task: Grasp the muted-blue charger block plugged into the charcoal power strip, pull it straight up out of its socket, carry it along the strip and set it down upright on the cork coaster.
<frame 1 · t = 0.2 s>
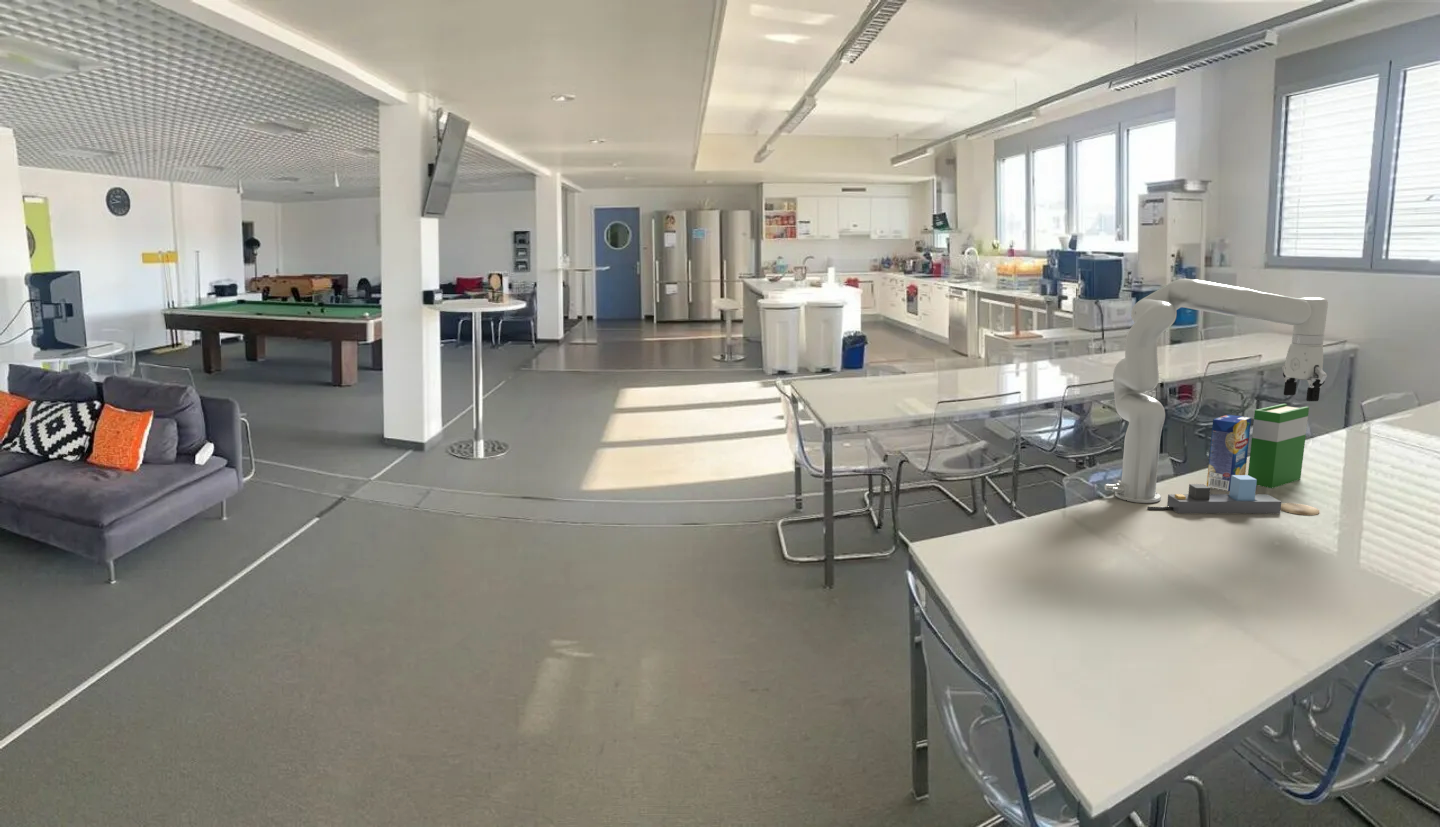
hand: (1300, 397, 242), 31 cm above the table, fingers open, 9 cm apart
coaster: (1298, 509, 237), on the table
hardback book: (1273, 481, 265), on the table
power strip: (1222, 509, 239), on the table
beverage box: (1225, 486, 261), on the table
charger: (1241, 503, 238), point 2 cm above the table, touching power strip
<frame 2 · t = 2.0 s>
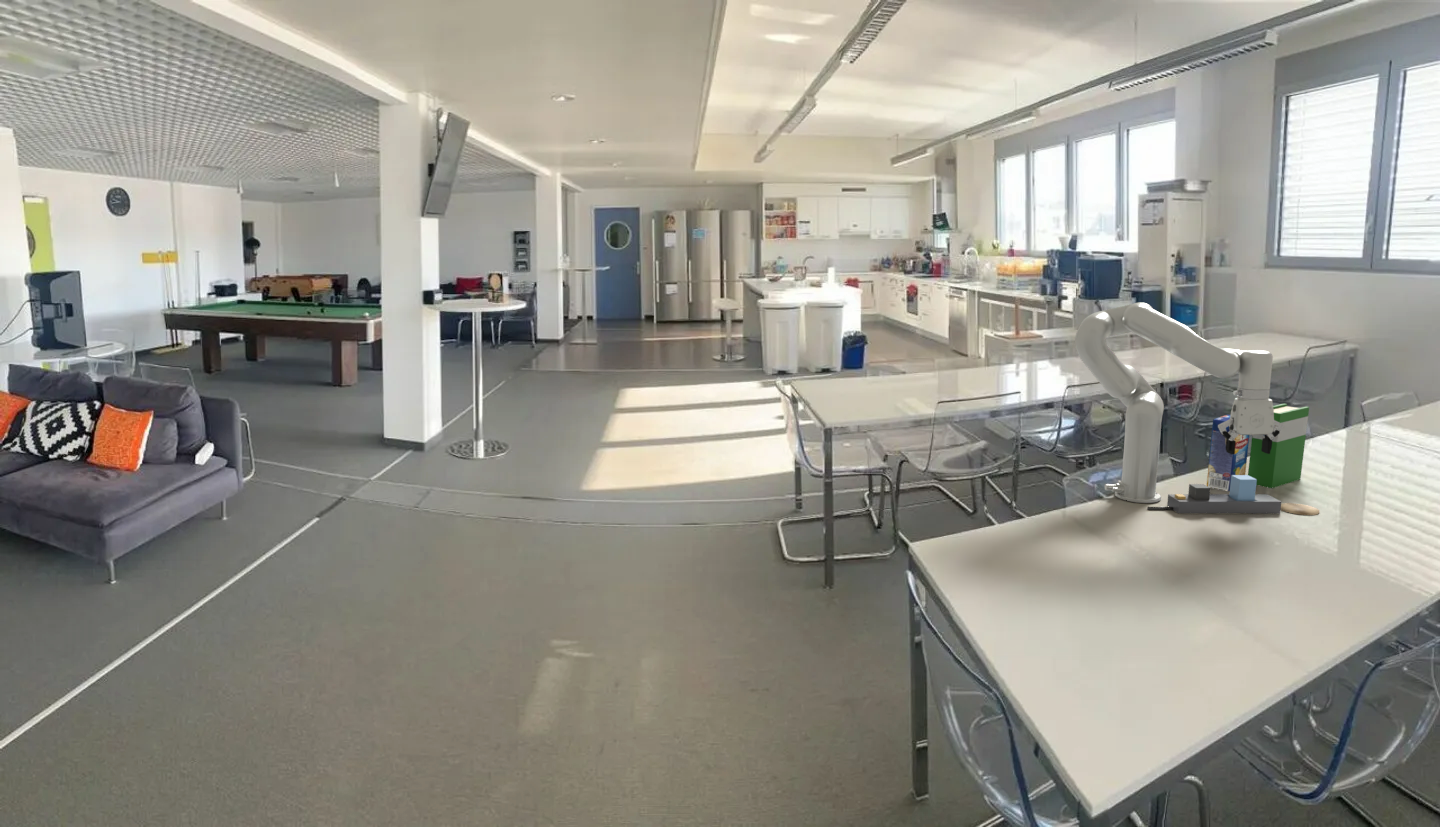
hand: (1248, 453, 235), 17 cm above the table, fingers open, 9 cm apart
nothing on the table moved.
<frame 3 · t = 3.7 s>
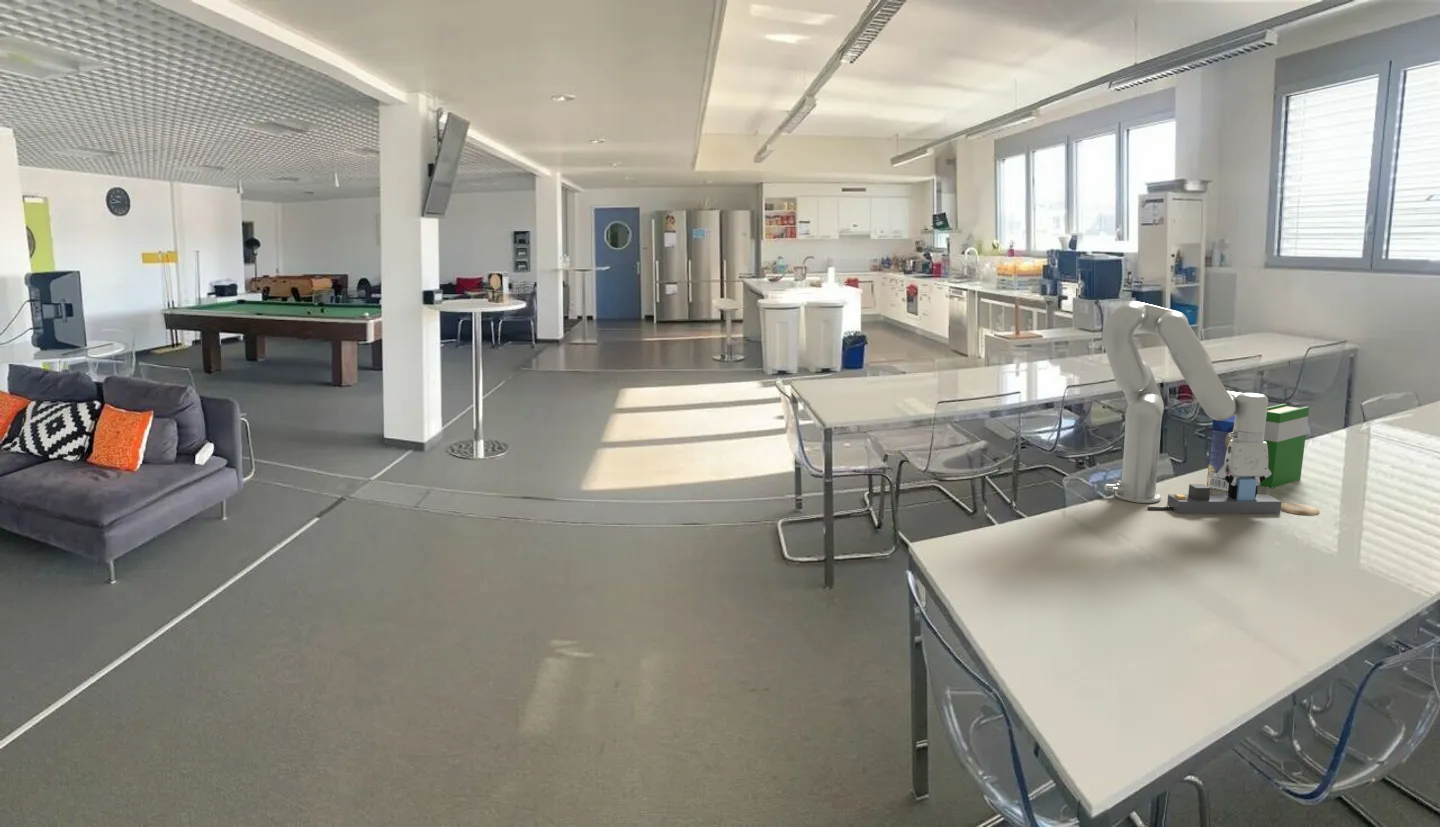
hand: (1241, 496, 237), 4 cm above the table, fingers closed on charger, 4 cm apart
charger: (1241, 503, 238), point 2 cm above the table, touching gripper, power strip
everything else where it was.
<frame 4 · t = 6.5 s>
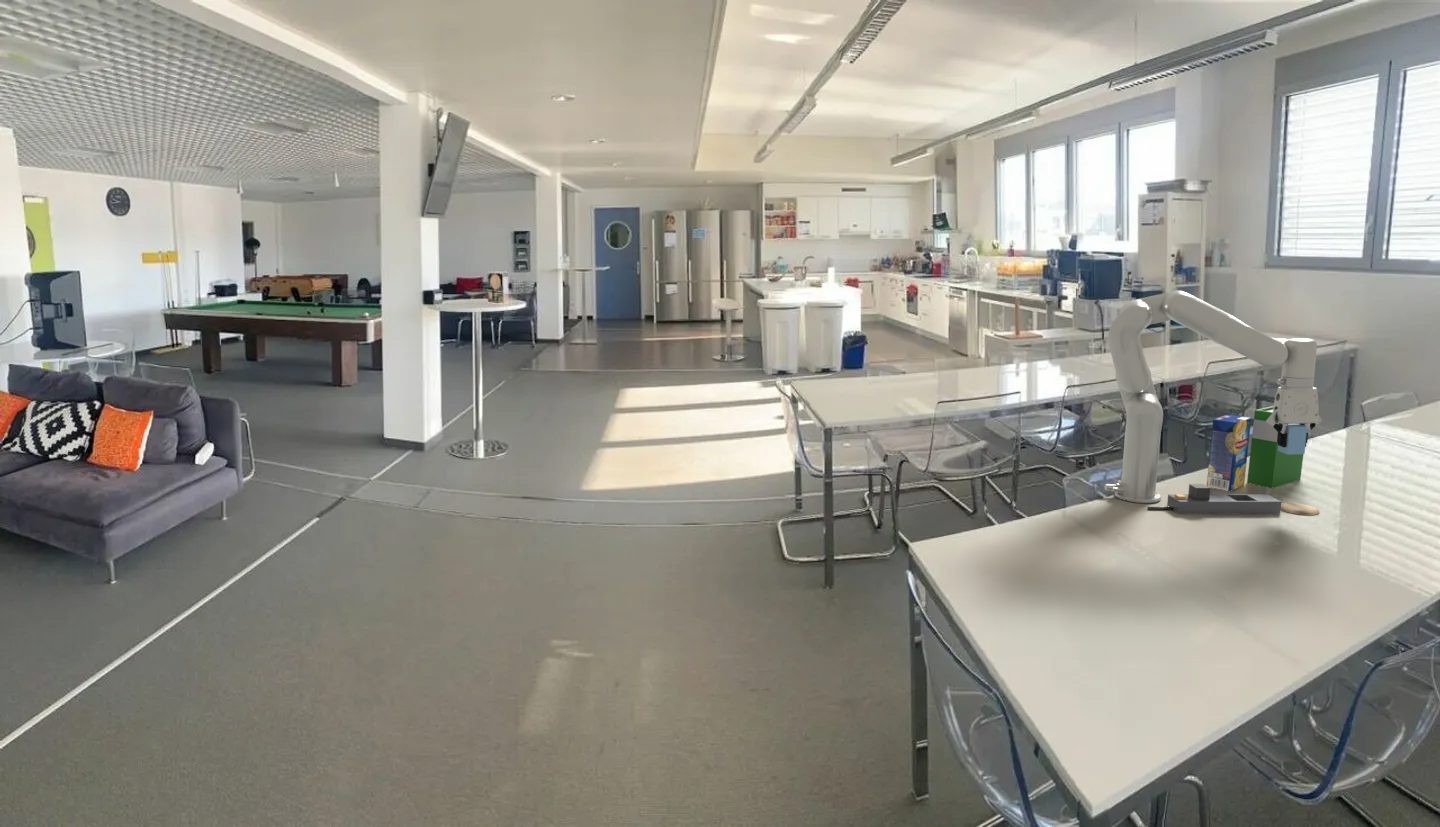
hand: (1291, 445, 233), 19 cm above the table, fingers closed on charger, 4 cm apart
charger: (1291, 452, 234), point 17 cm above the table, touching gripper
everything else where it was.
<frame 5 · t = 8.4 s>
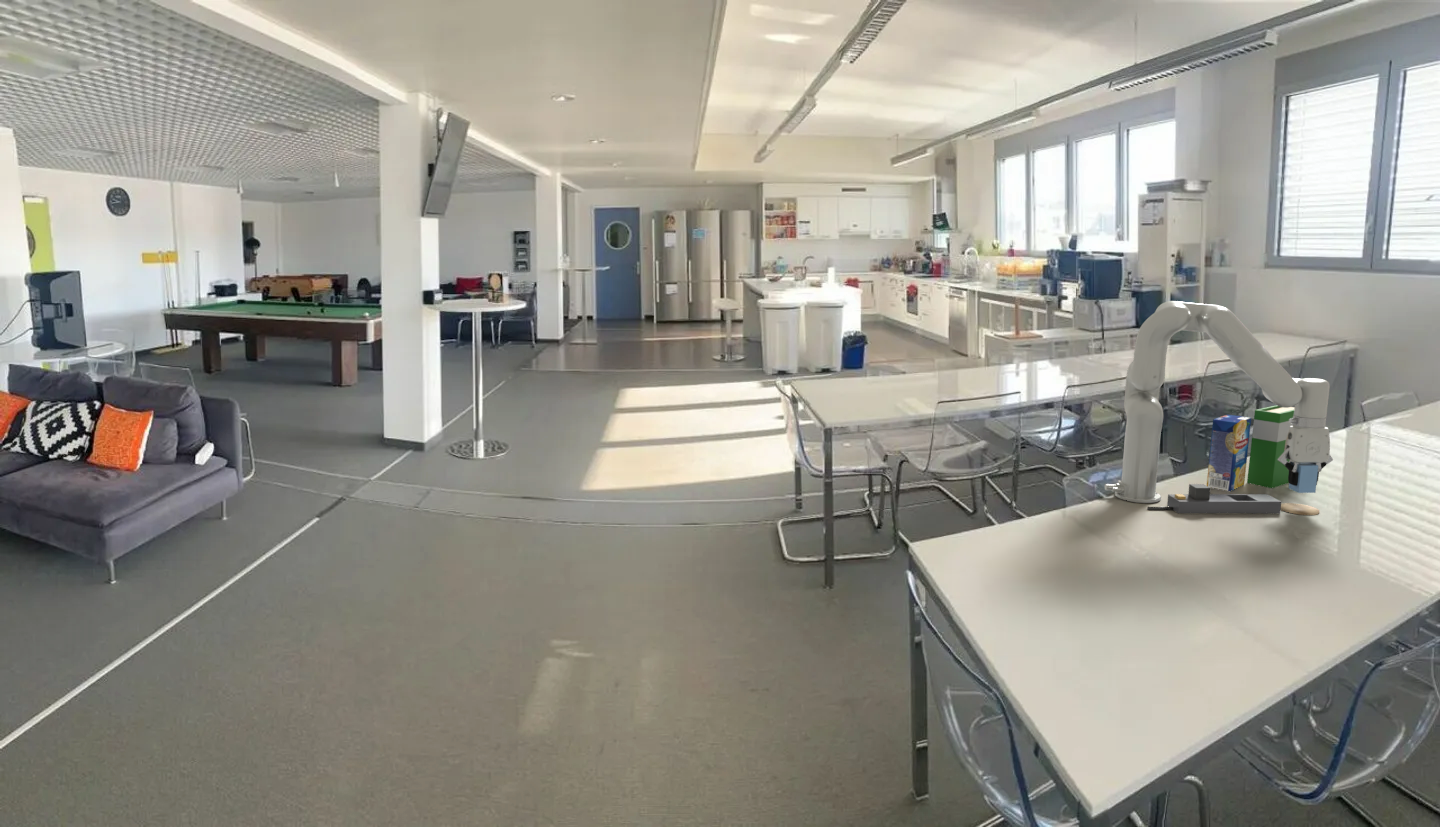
hand: (1302, 483, 235), 8 cm above the table, fingers closed on charger, 4 cm apart
charger: (1301, 490, 236), point 6 cm above the table, touching gripper
everything else where it was.
when the fingers open (4 cm above the table, at t = 9.5 s): charger drops 1 cm, resting on coaster.
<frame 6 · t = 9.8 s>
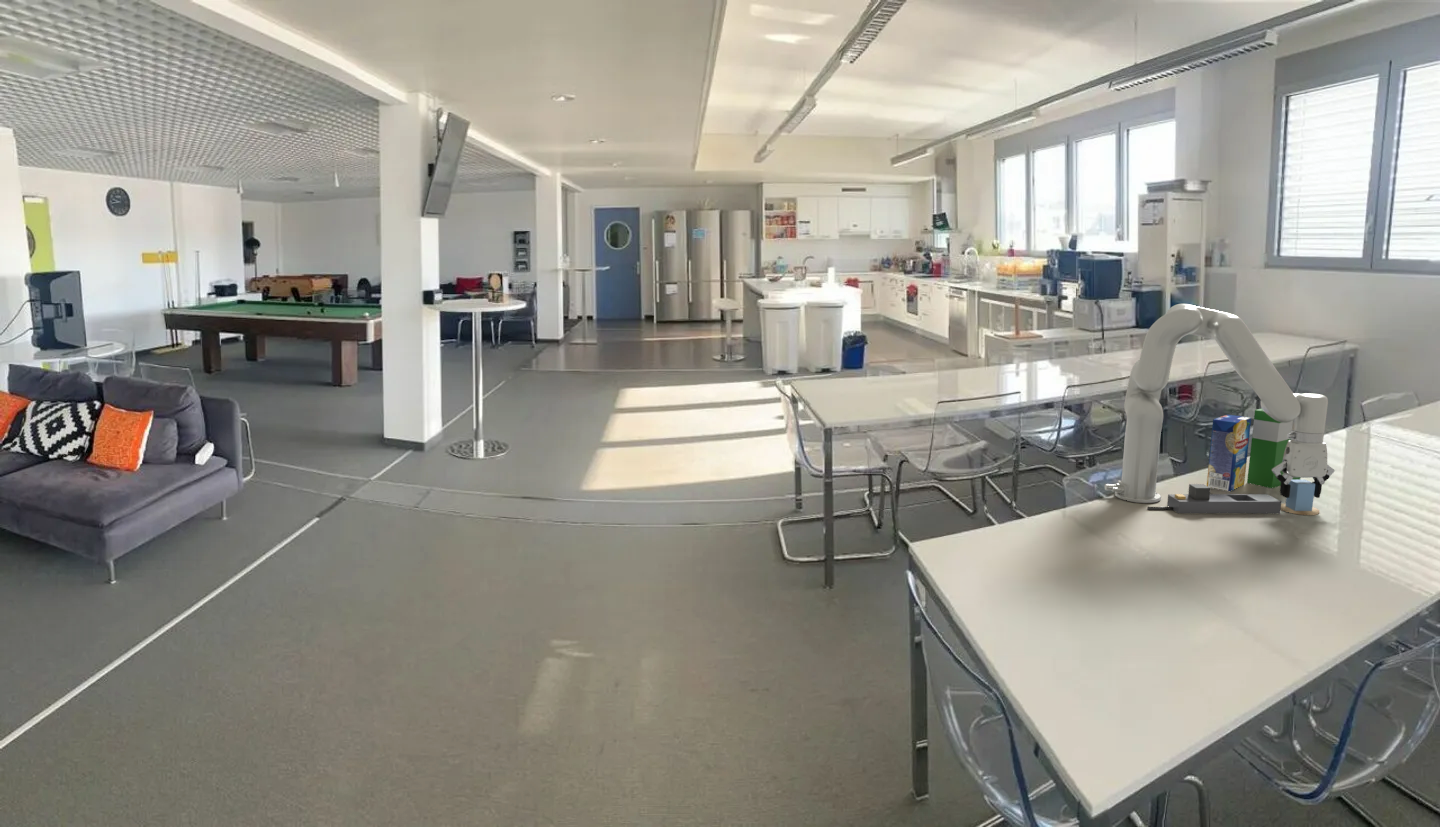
hand: (1299, 496, 236), 4 cm above the table, fingers open, 7 cm apart
charger: (1298, 508, 237), resting on coaster
everything else where it was.
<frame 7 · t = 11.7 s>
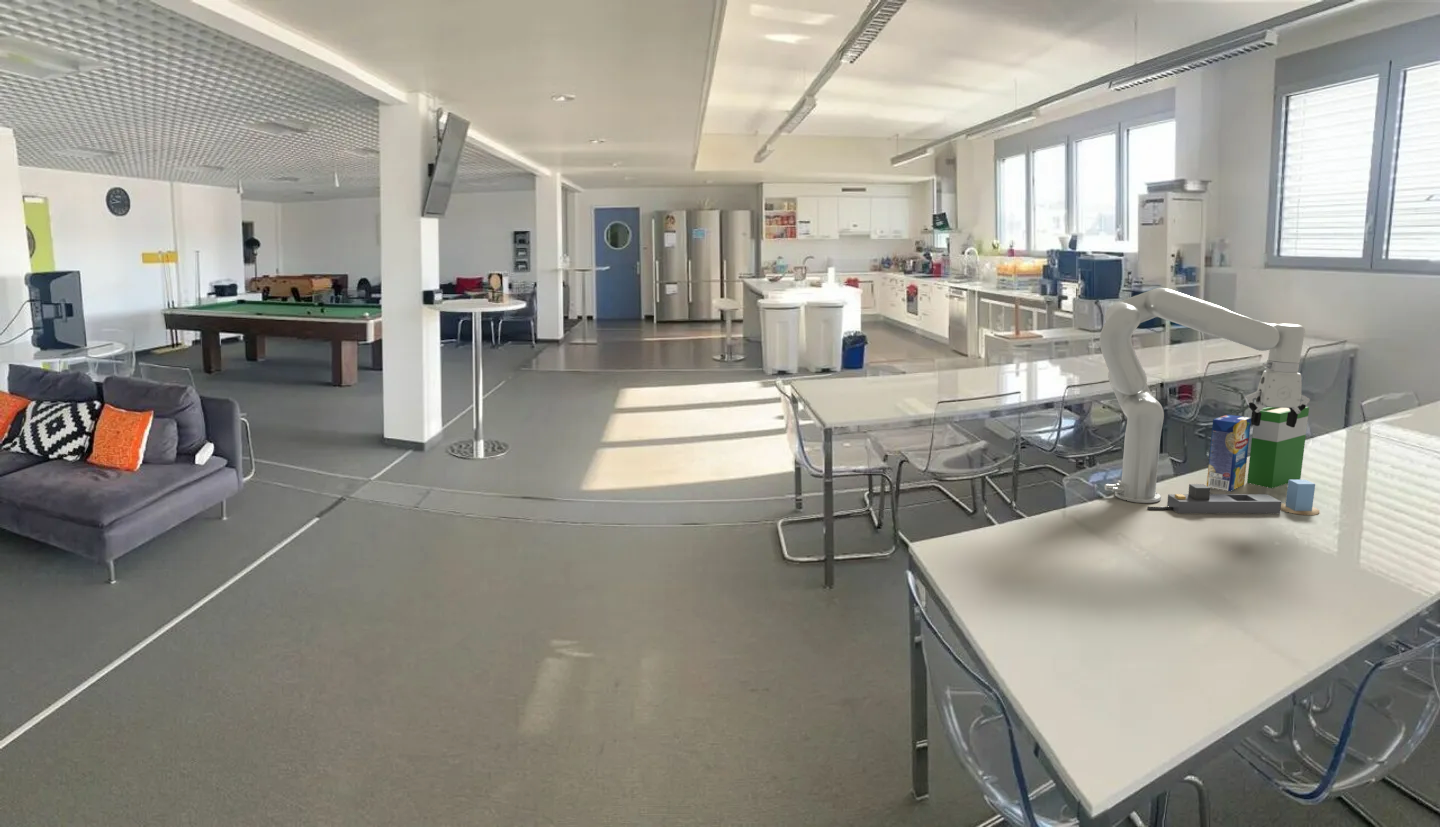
hand: (1272, 425, 237), 24 cm above the table, fingers open, 9 cm apart
nothing on the table moved.
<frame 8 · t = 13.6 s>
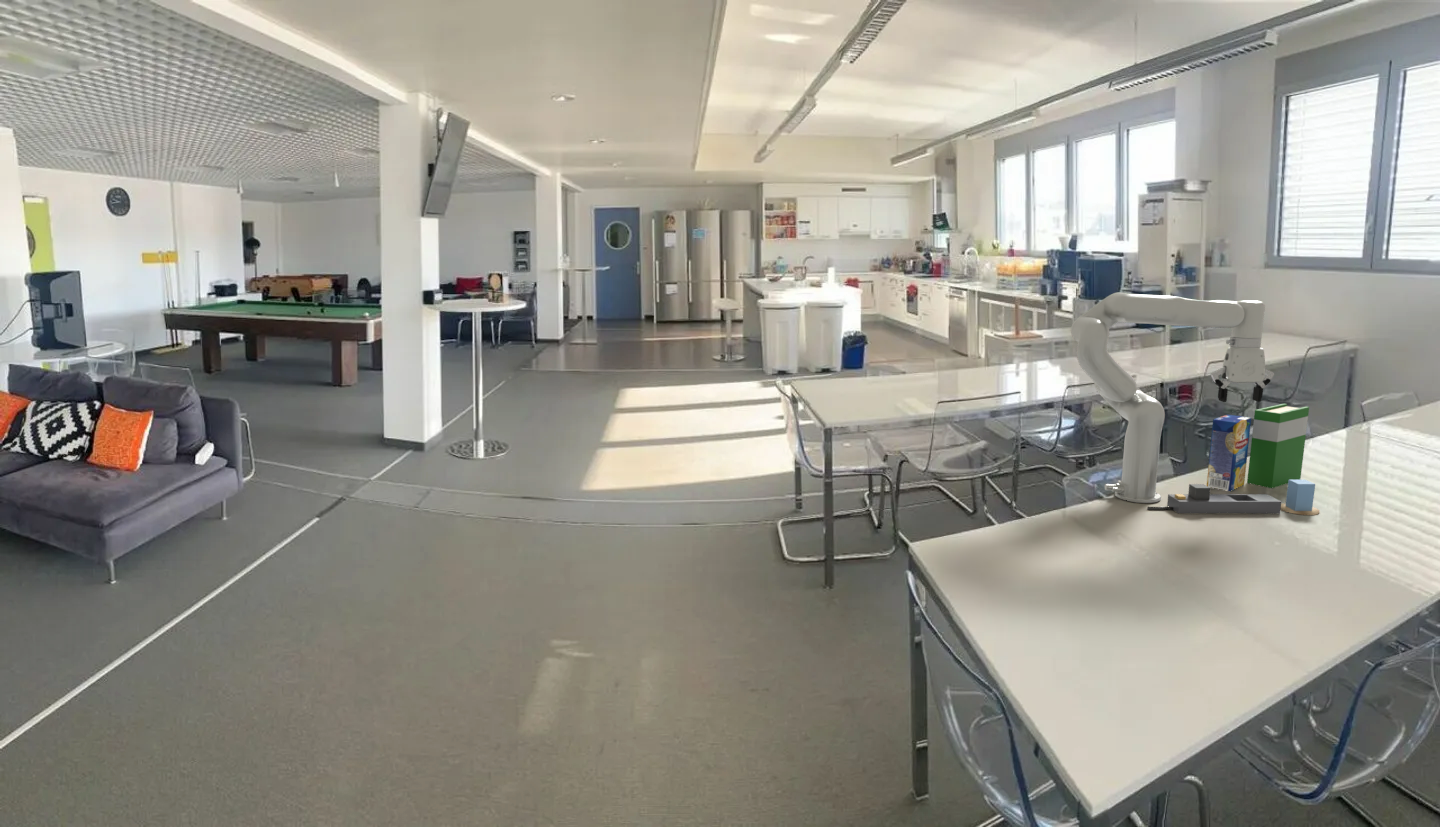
hand: (1239, 401, 242), 30 cm above the table, fingers open, 9 cm apart
nothing on the table moved.
at the end: charger inside the target area on the coaster (0.1 cm from its centre), point 0.4 cm above the coaster's base; charger tilted 0°; the gripper is holding nothing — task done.
